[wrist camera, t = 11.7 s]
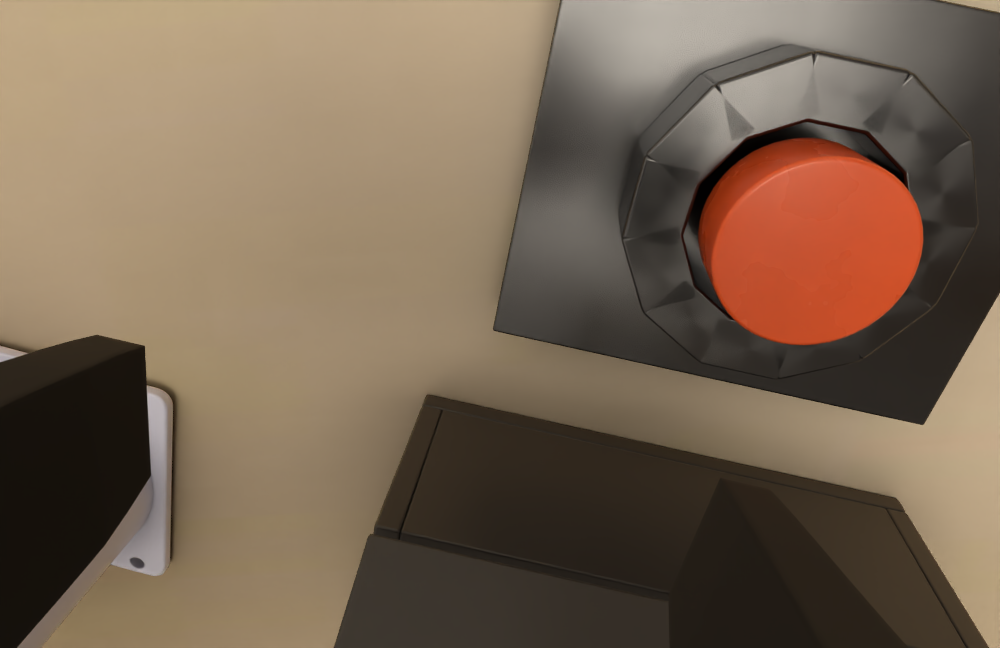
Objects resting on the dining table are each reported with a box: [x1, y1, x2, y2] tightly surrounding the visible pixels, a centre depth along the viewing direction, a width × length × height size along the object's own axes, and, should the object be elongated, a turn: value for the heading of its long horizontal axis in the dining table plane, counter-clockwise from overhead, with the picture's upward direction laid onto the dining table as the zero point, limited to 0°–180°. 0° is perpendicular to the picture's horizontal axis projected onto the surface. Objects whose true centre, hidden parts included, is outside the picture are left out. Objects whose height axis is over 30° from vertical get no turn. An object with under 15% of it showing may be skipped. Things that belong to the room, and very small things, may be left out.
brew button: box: [698, 138, 923, 345], centre depth 13 cm, size 4×4×2 cm
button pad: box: [493, 0, 1000, 425], centre depth 15 cm, size 9×11×4 cm
